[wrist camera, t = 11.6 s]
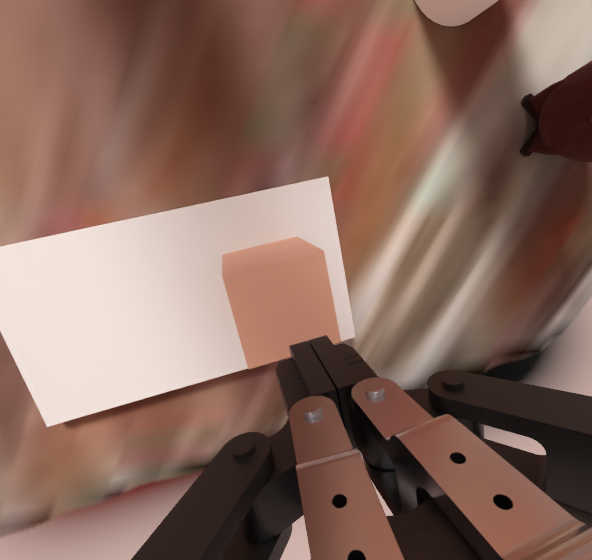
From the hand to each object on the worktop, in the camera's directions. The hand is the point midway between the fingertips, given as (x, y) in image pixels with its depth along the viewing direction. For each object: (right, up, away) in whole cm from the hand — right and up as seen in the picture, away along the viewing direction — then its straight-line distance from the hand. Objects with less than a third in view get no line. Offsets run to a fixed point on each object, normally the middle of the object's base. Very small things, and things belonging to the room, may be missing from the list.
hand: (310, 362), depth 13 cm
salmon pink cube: (-3, +3, +12) cm, 13 cm away
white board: (-9, +2, +13) cm, 16 cm away
